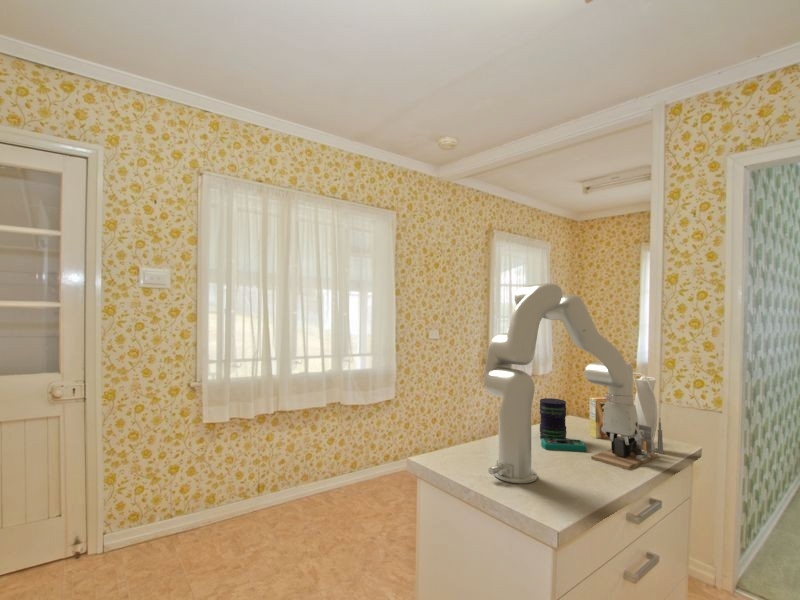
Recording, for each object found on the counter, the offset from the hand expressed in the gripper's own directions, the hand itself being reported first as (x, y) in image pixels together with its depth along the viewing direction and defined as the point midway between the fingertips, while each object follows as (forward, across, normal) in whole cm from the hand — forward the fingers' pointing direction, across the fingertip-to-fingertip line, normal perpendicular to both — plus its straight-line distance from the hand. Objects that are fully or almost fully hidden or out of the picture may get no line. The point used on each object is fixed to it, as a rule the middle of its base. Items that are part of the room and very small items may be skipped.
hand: (621, 454), depth 140 cm
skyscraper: (+2, 0, +18) cm, 19 cm away
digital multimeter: (+3, -19, -5) cm, 19 cm away
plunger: (0, +1, +5) cm, 5 cm away
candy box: (+2, -18, +22) cm, 28 cm away
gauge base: (+2, 0, +2) cm, 3 cm away
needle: (0, +5, +6) cm, 7 cm away
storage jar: (+2, -27, +2) cm, 27 cm away
